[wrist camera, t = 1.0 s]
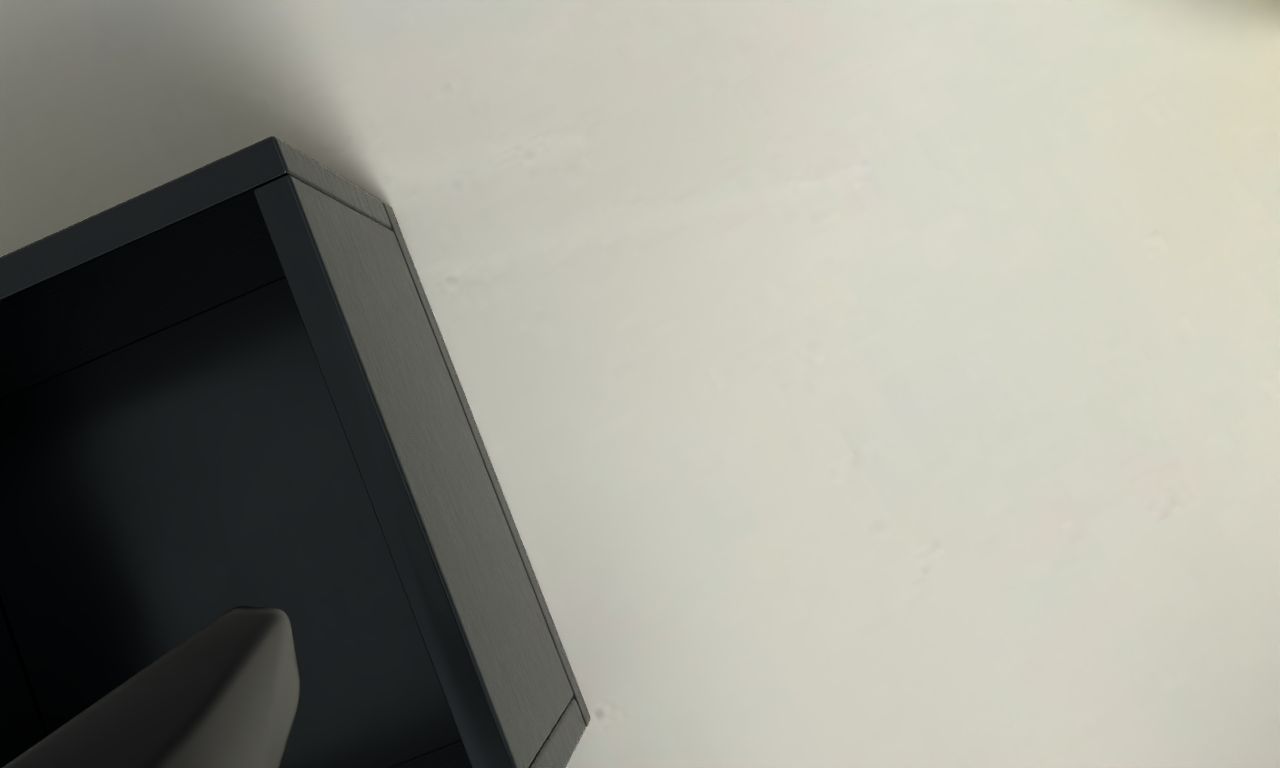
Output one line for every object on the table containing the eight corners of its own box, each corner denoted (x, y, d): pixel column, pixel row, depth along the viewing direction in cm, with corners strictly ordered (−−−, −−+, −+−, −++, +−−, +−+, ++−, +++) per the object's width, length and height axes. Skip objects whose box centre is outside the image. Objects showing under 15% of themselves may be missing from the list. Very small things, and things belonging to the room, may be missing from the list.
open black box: (592, 719, 21) (537, 825, 16) (97, 908, 22) (-119, 1071, 17) (391, 206, 22) (273, 133, 17) (-76, 410, 23) (-337, 405, 18)
